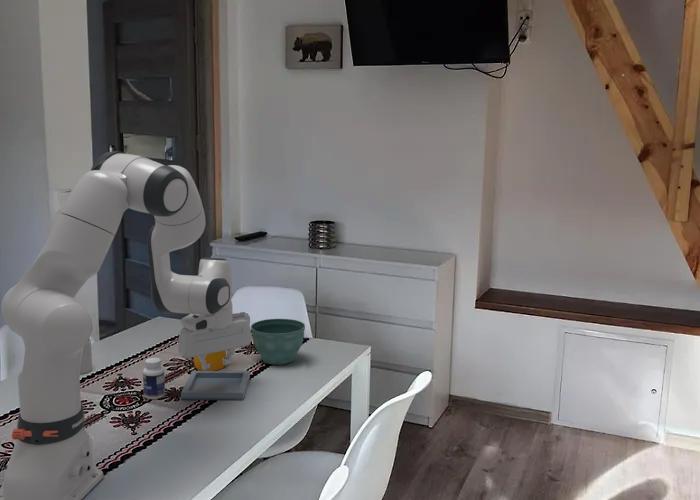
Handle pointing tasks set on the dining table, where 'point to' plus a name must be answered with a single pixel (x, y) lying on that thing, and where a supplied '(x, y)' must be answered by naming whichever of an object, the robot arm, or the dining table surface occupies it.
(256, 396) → the dining table surface
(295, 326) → the flower pot
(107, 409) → the dining table surface
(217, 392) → the dish
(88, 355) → the cup
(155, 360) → the pill bottle
